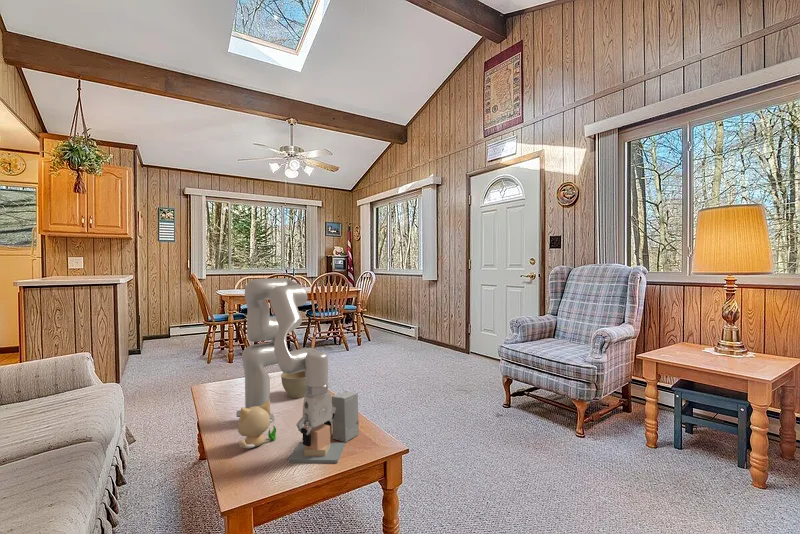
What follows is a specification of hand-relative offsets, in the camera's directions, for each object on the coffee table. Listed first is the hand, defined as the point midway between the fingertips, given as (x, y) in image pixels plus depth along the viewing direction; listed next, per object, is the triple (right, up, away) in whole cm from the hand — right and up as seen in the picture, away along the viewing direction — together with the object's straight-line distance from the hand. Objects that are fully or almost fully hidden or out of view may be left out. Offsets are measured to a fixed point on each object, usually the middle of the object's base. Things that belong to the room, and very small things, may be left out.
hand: (317, 439), depth 128 cm
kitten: (-24, -5, +7) cm, 25 cm away
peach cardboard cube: (0, -2, 0) cm, 2 cm away
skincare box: (+8, -5, +13) cm, 16 cm away
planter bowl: (-22, -5, +59) cm, 63 cm away
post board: (0, -5, 0) cm, 5 cm away
